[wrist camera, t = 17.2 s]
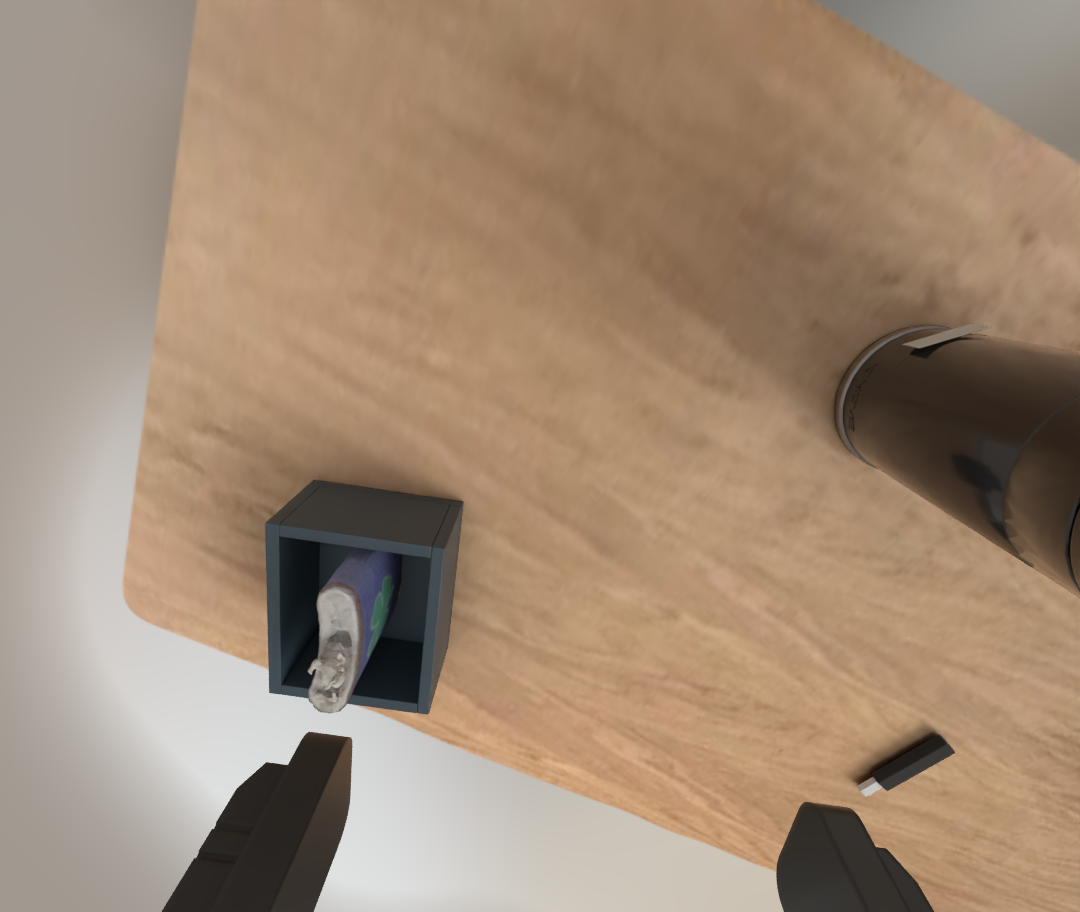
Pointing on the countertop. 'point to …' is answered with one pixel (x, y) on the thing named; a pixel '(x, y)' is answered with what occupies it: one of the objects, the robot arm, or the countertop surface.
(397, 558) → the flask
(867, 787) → the usb flash drive
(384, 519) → the box
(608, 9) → the countertop surface
